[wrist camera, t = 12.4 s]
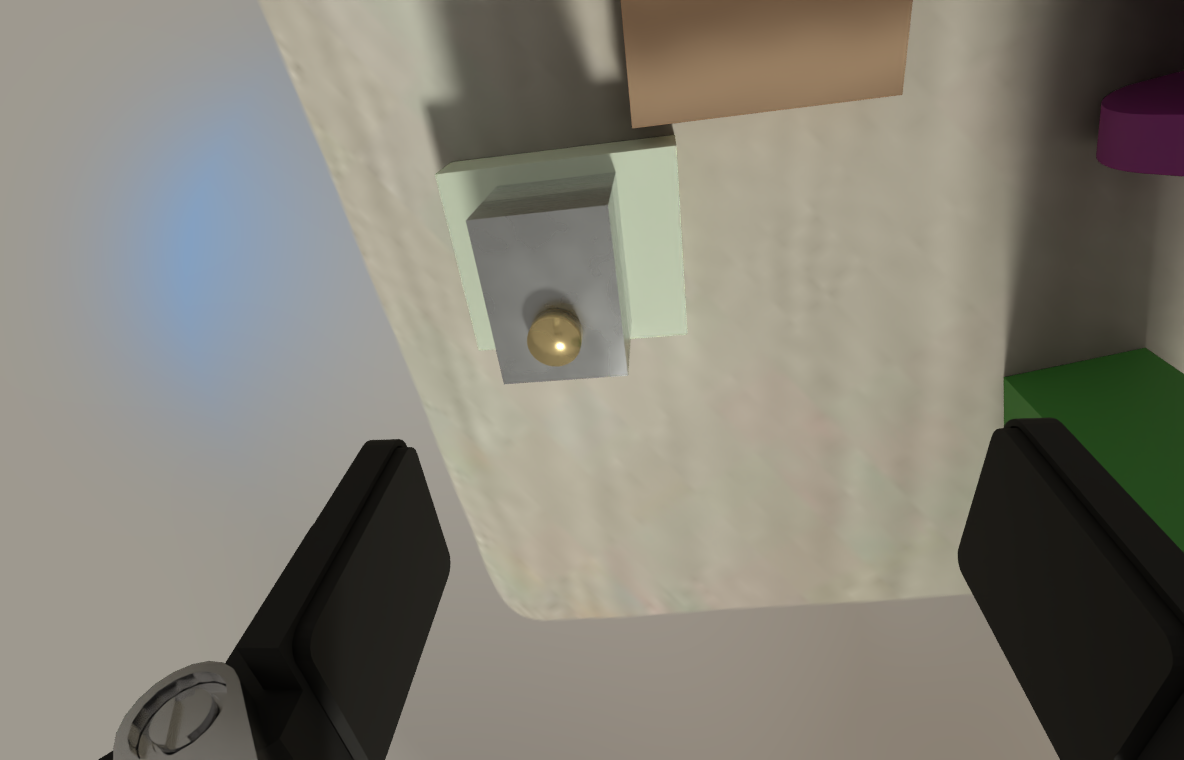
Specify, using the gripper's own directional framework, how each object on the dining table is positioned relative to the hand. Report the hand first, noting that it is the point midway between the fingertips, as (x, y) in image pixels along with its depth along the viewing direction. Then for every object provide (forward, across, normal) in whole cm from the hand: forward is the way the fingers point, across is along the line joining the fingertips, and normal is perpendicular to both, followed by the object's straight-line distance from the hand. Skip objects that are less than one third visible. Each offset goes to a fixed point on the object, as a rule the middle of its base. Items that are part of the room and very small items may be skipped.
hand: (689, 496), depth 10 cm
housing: (+23, +5, +4) cm, 24 cm away
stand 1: (+26, +5, +4) cm, 27 cm away
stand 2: (+26, -4, -7) cm, 27 cm away
